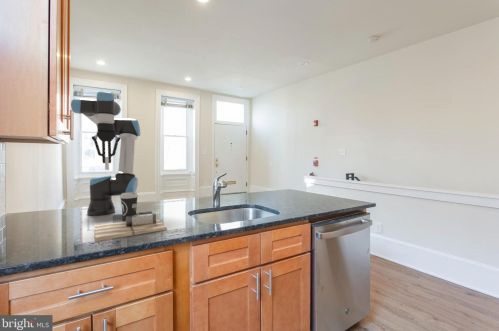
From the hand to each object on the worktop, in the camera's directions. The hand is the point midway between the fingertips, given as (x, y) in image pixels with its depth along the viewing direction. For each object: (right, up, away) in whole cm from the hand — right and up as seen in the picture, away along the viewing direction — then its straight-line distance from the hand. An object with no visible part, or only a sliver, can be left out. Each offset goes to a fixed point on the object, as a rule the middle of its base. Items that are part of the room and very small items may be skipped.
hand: (107, 169), depth 125 cm
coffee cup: (+4, -29, +15) cm, 33 cm away
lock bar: (+18, -28, 0) cm, 33 cm away
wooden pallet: (+14, -30, -3) cm, 33 cm away
